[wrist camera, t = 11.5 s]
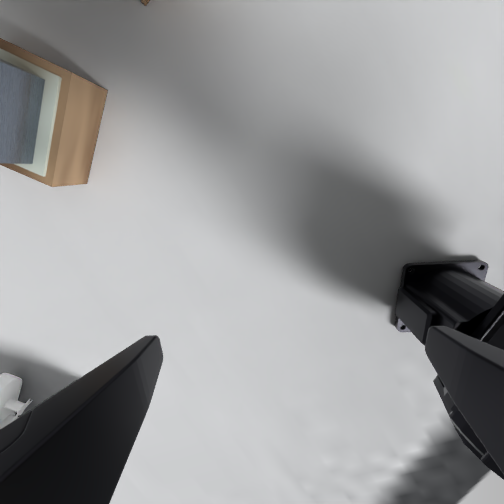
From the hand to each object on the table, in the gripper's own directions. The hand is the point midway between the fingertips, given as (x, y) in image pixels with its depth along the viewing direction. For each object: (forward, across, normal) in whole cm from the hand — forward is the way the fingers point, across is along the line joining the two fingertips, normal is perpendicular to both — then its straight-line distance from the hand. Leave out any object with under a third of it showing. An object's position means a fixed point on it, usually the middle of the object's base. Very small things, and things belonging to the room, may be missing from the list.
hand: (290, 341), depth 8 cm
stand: (+13, +16, -10) cm, 23 cm away
